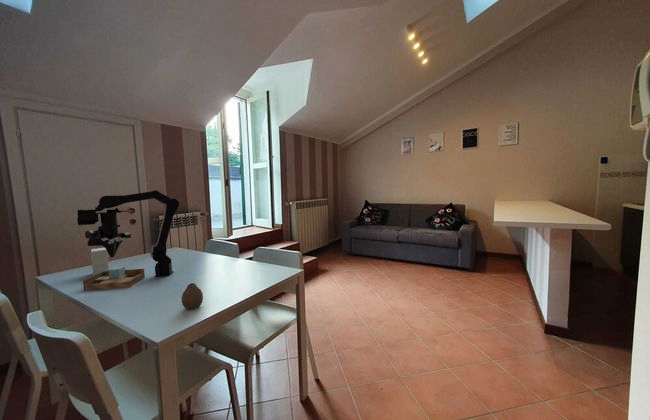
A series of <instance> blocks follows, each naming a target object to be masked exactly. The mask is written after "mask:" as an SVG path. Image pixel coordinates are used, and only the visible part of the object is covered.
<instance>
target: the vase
mask: <svg viewBox="0 0 650 420" xmlns="http://www.w3.org/2000/svg"><path fill="white" fill-rule="evenodd" d="M203 301H204V295H203V292H202V290H201V288H199V286H197V284H196V283H193V282H192V283H188V285H187V286H186V288H185V290H184V291H183V292H182V295H181V304H182V306H183V308H185V310H187V311H194V310H197V309H198V308H200V307H201V306H202V303H203Z"/></svg>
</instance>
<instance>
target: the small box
mask: <svg viewBox="0 0 650 420" xmlns="http://www.w3.org/2000/svg"><path fill="white" fill-rule="evenodd" d="M108 255H109V254H108V252H107V250H106V249H105V247H100V248H91V251H90V257H91V266H92V267H91V269H92V276H94V275H96V274H98V273H100V272H102V271H108V270H109V269H110V266H109V256H108Z"/></svg>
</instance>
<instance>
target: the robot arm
mask: <svg viewBox="0 0 650 420" xmlns="http://www.w3.org/2000/svg"><path fill="white" fill-rule="evenodd" d="M153 199H155V200H156V201H158V202H160V203H161V204H163V217H162V221H161V225H160V228H159V229H160V230H159V233H158V237H157V240H156V242H155V244H151V248H150V250H149V254H150V258H152V259H153V261H155V262H157V263H155V266H154V274H155V275H154V277H155V278H157V277H169V276H171V275H172V274H174V272H175V271H174V270H173V265H172V264H173V263H172V258H171V257H170V256H169V255H167V242H168V237H169V234H170V231H171V226H172V222H173V217H174V216H175V214H176V213H177V211H178V208H179V207H180V202H179V200H178V199H177V198H174V197H172V198H171V197H169V196H167V195H166V194H164V193H162V192H160V191H159V190H157V189H156V190H154V189H153V190H151V191H143V192H136V193H131V194H126V195H124V194H123V195H118V194H116V195H115V194H114V195H112V194H111V195H103V196H101V197H100V198H99V201H98V205H96V206H95V209H94V208H93V209H77V225H78V227H79V226H91V225H96V223H99V222H100V226H98V227H97V230H94V231H93V230H92V229H89V230H85V232H84V236H85V239H88V240H87V242H86V244H87V247H95V246H98V247H99V246H102V247H103V248H105V249H106V250H107V253H108V255H109V258H115V257H116V254H117V252H118V249H119V248H120V246H121V244H122V242H123V240H122V239H124V238H125V239H130V238H132V234H131V232H129V231H120V232H119V228H120V227H121V224H118V215H117V214H118V213H119V214H120V213H122V210H120V209H119V208H118V207H119V206H121V205H124V204H127V203H128V204H129V203H134V202H135V203H136V202H140V201H145V200H153ZM111 208H114V209H111ZM105 209H106V211H103V210H105ZM99 215H100V216H99ZM99 217H100V219H99ZM99 220H100V221H99ZM120 239H121V240H120Z"/></svg>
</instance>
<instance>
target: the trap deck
mask: <svg viewBox="0 0 650 420" xmlns="http://www.w3.org/2000/svg"><path fill="white" fill-rule="evenodd" d="M125 274H126V275H124V276H122V277H120V278H109V271H102V272H100V273H98V274H96V275H94V276H93V275H91V276H89V277H87V278H85V279H83V280H82V284H83V291H94V290H95V291H97V290H98V291H99V290H109V289H124V288H131V287H132V286H134V285H136V284H138V283H139V282H140V281H142V280H143V279H145V277H146V276H145V275H146V273H145V268H133V269H130V268H129V269H125Z"/></svg>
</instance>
